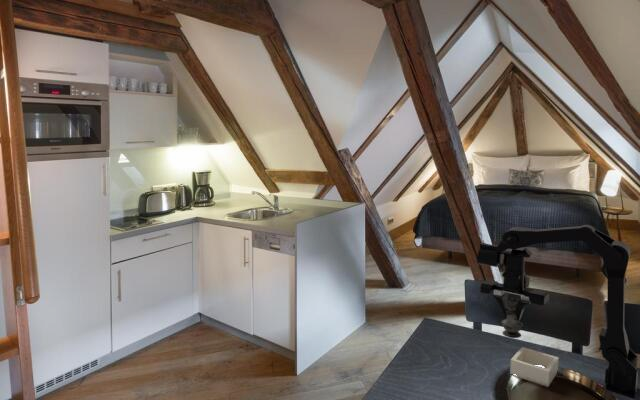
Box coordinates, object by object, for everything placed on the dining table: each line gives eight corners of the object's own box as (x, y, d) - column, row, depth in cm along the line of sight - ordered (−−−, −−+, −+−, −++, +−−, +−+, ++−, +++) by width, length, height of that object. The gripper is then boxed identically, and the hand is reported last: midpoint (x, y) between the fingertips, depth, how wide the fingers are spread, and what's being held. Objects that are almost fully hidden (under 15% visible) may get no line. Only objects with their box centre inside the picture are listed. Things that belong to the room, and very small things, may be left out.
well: (557, 372, 124) (558, 357, 124) (548, 387, 117) (548, 371, 116) (521, 360, 131) (522, 346, 130) (510, 374, 124) (510, 359, 123)
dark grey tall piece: (497, 333, 133) (498, 296, 131) (507, 328, 136) (508, 292, 135) (515, 340, 128) (517, 301, 127) (526, 334, 132) (527, 297, 130)
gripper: (555, 268, 129) (553, 318, 131) (493, 258, 142) (491, 304, 144) (544, 277, 121) (542, 330, 123) (479, 266, 134) (478, 314, 136)
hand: (512, 318), depth 132 cm, fingers closed on dark grey tall piece, 3 cm apart
